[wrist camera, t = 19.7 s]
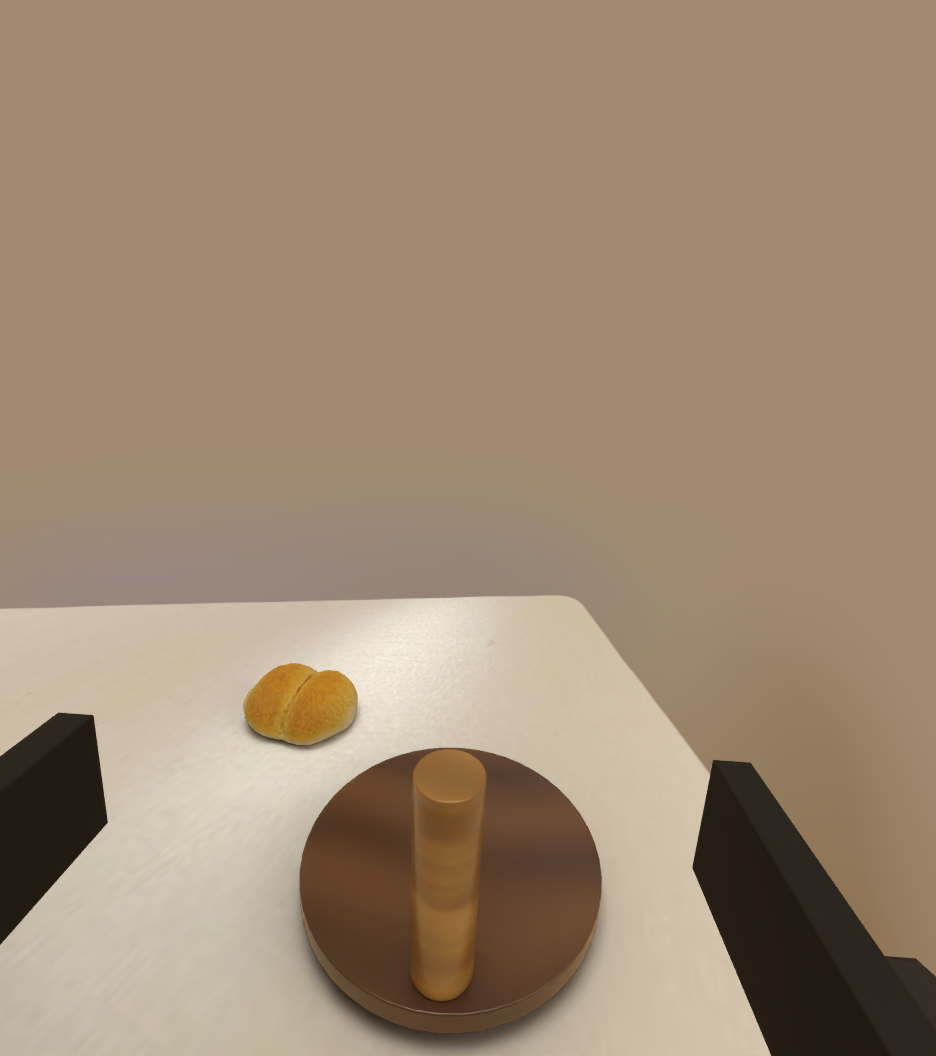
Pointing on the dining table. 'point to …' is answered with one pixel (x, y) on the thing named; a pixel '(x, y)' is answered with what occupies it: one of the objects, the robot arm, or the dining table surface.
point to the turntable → (450, 889)
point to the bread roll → (301, 704)
